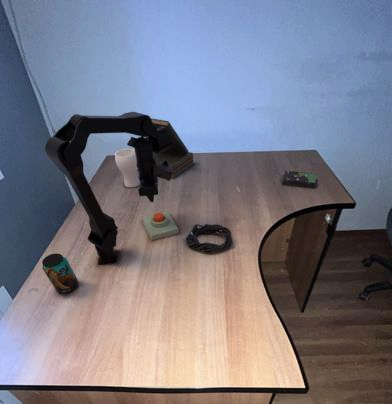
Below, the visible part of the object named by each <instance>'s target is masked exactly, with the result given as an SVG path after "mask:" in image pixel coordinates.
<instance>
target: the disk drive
mask: <svg viewBox="0 0 392 404" xmlns="http://www.w3.org/2000/svg"><path fill="white" fill-rule="evenodd" d="M281 184H282V185H284V186H294V187H302V188H314V189H315V187H316V184H317V174H316V173H313V172H303V171H294V170H285V171H284V175H283V179H282V183H281Z"/></svg>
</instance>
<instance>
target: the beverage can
mask: <svg viewBox="0 0 392 404" xmlns="http://www.w3.org/2000/svg"><path fill="white" fill-rule="evenodd" d="M41 264H42V270H43V272H44V274H45V276H46V277H47V278H48V280H49V282H50V283H51V285H52V287H53V288H54V290H55V291H56V293H58V294H59V295H70V294H73V293H74V292H76V290H77V289H78V288H79V286H80V282H79V280H78V277H77V276H76V274H75V272H74V270H73V268H72V266H71V265H70V262H69V260H68V259H67V258H66V257H64V256H63V255H62V254H61V253H57V252H55V253H51V254H48V255H46V256H45V257H44V258H43V259H42V260H41Z"/></svg>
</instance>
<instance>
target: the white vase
mask: <svg viewBox="0 0 392 404" xmlns="http://www.w3.org/2000/svg"><path fill="white" fill-rule="evenodd" d="M114 157H115V158H114V160H115V164H116V167H117V168H118V170H119V171H120V173H121V175H122V177H123V183H124V187H126V188H137V187H139V184H140V183H141V180H139V174H138V168H137V160H136V155H135V149H134V148H122V149H119V150H117V151H116V152H115V153H114Z"/></svg>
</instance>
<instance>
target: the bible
mask: <svg viewBox="0 0 392 404" xmlns="http://www.w3.org/2000/svg"><path fill="white" fill-rule="evenodd" d="M150 118H151V120H152V124H153V125H154V126H155V128H156V129H158V128H160V127H162V126H163V127H166V128H167V132H168V133H169V134H170V136H171V138H172V141H173V144H172V147H171V148H170V149H167V150H165V151H163V152H160V153H158V154H156V153H154V152H153V155H154V159H155V160H156V163H161V162H162V161H163V160H168V164H169V166H170V165H171V167H172V170H173V172H172V176H171V180H172V179H175V178H176V177H177V176H180V174H182V173H184V172H185V171H186V170H188V169H189V168H191V167H192V166H194V152H191V151H189V150H188V148H187V145H185V143H184V142H183V140H182V139H181V138H180V136H179V135H178V133H177V132H176V130H175V128H174V127H173V126H172V124H171V122H170V121H169V120H163V119H158V118H152V117H150Z"/></svg>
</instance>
